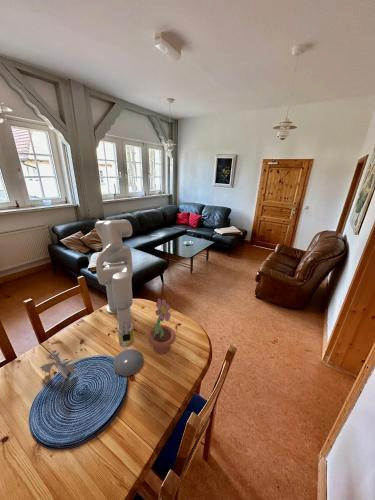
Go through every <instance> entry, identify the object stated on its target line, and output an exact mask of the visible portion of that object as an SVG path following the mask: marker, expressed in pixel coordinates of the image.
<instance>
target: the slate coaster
mask: <svg viewBox="0 0 375 500" xmlns="http://www.w3.org/2000/svg"><path fill="white" fill-rule="evenodd" d="M143 364H144V355H143V354H142V352H141V351H139V350H138V349H134V348H129V349H125V350H122V351H120V352H119V353H117V355H116V356H115V357H114V360H113V361H112V368H114V369H113V371H114V372H115V373H116V374H117V375H118V374H119V375H118V376H120V375H122V376H121V377H128V376H132V375H134V374H136V373H137V372H139V370H141V368H142V367H143Z"/></svg>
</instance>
